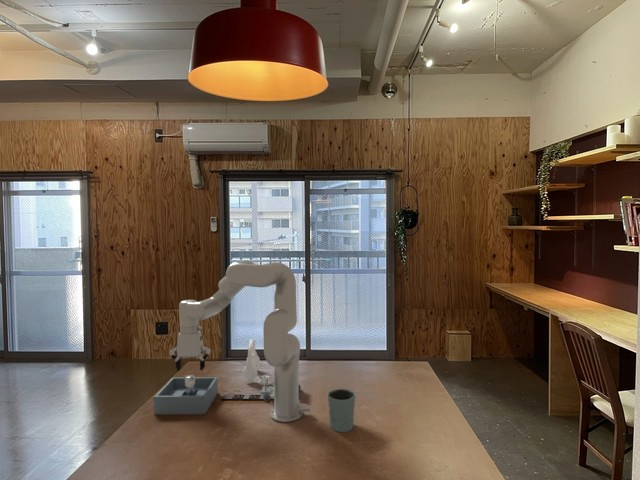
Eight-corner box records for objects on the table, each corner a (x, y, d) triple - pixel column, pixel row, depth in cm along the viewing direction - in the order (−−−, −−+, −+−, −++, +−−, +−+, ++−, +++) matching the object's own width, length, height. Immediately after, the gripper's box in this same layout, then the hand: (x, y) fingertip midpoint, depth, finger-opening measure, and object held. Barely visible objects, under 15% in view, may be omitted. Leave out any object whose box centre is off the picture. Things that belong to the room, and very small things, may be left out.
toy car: (256, 378, 169) (260, 369, 181) (257, 401, 170) (260, 390, 181) (299, 378, 170) (300, 368, 181) (299, 401, 170) (300, 390, 181)
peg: (193, 401, 169) (193, 378, 169) (183, 401, 169) (183, 378, 169) (196, 397, 173) (196, 374, 173) (187, 397, 173) (186, 374, 173)
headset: (257, 384, 187) (256, 346, 187) (241, 385, 187) (241, 347, 186) (260, 369, 207) (259, 334, 207) (246, 369, 207) (245, 335, 206)
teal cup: (332, 434, 142) (332, 401, 142) (324, 421, 152) (324, 390, 152) (359, 430, 145) (359, 398, 145) (349, 417, 155) (349, 387, 154)
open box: (217, 392, 178) (217, 377, 178) (205, 414, 158) (205, 396, 158) (172, 393, 178) (172, 377, 178) (154, 414, 158) (153, 396, 158)
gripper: (212, 326, 174) (213, 366, 174) (172, 327, 173) (173, 367, 174) (207, 331, 166) (208, 372, 167) (165, 332, 166) (167, 373, 166)
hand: (190, 369), depth 170 cm, fingers open, 9 cm apart
